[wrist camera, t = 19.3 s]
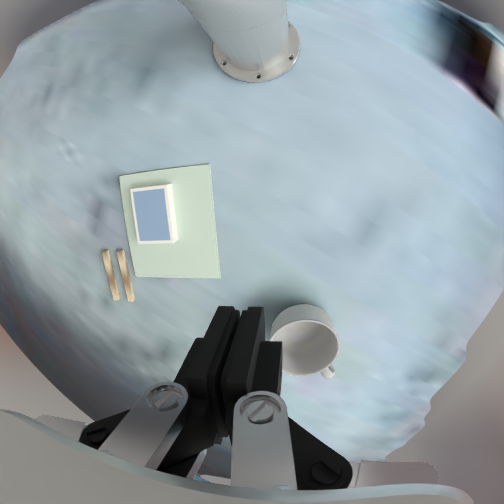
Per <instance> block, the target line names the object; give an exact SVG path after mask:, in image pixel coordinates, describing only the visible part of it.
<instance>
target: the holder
mask: <svg viewBox="0 0 504 504" xmlns="http://www.w3.org/2000/svg"><path fill="white" fill-rule="evenodd" d="M102 255H103V260H104V264H105V268H106V272H107V276H108V280H109V284H110V288H111V292H112V295H113V299H114V300H115V301H118V300H119V299H120V295H119V291H118V288H117V284H116V280H115V276H114V271H113V267H112V263H111V258H110V254H109V250H104V251H103V252H102ZM117 256H118V260H119V265H120V269H121V274H122V278H123V282H124V286H125V290H126V294H127V298H128V302H133V301H134V300H135V297H134V293H133V289H132V285H131V280H130V276H129V272H128V267H127V262H126V258H125V253H124V250H119V251H117Z"/></svg>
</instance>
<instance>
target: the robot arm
mask: <svg viewBox="0 0 504 504" xmlns="http://www.w3.org/2000/svg"><path fill="white" fill-rule="evenodd" d="M178 1H180V2H181V3H182V4H183V5H184V6H185V7H186V8H187V9H188V10H189V12H190V13H191V14H192V15H193V16H194V18H195V19H196V20H197V21H198V22H199V24H200V25H201V26H202V27H203V29H204V30H205V31H206V32H207V33H208V35H209V36H210V37H211V39H212V40H213V41H214V42H213V53H214V57H215V60H216V62H217V63H218V65H219V66H220V68H221V69H222V70H223V71H224V72H226V73H227V74H228V75H230V76H231V77H233V78H235V79H238V80H241V81H244V82H252V83H255V82H265V81H270V80H273V79H275V78H278V77H280V76H281V75H283V74H285V73H286V72H287V71H288V70H290V69H291V67H292V66H293V65H294V64H295V62H296V60H297V58H298V56H299V52H300V39H299V35H298V33H297V31H296V29H295V28H294V26H293V25H292V24H291V23H290V22H289V21H288V13H287V0H178ZM289 58H293V59H292V60H290V59H289ZM225 63H226V65H224V64H225ZM258 76H260V78H259V79H258V78H257V77H258ZM282 359H283V347H282V341H265V323H264V308H263V307H248V310H243V311H242V314H241V317H240V312H239V310H235V309H234V307H233V306H219V307H218V309H217V311H216V313H215V315H214V317H213V319H212V321H211V323H210V325H209V327H208V330H207V332H206V334H205V336H204V338H196V339H195V341H194V343H193V345H192V347H191V349H190V350H189V352H188V354H187V356H186V358H185V360H184V362H183V364H182V366H181V368H180V370H179V372H178V374H177V376H176V378H175V380H174V382H161V383H157V384H155V385H153V386H151V387H150V388H149V389H147V390H146V391H145V393H144V394H143V395H142V396H141V398H140V399H139V400H138V401H137V402H136V404H135V405H134V406H133V407H132V409H130V410H127V411H125V412H122V413H119V414H116V415H113V416H110V417H108V418H105V419H102V420H99V421H96V422H93V423H91V424H89V425H87V424H86V423H85V422H80V421H74V420H68V419H63V418H59V417H54V416H49V415H42V416H38V417H37V418H36V419H32V418H30V417H28V416H26V415H23V414H21V413H17V412H14V411H10V410H4V409H0V504H474V503H473V501H472V499H471V498H470V497H469V496H468V495H467V494H466V493H465V492H463V491H462V490H459V489H457V488H454V487H449V486H445V485H438V479H439V478H438V473H437V471H436V469H435V468H434V467H433V466H432V465H430V464H428V463H424V462H381V461H365V460H361V462H360V463H356V462H348V461H347V460H346V459H345V458H344V457H343V456H341V455H340V454H338V453H337V452H335V451H334V450H332V449H331V448H330V447H328V446H327V445H325V444H324V443H323V442H321V441H320V440H318V439H317V438H316V437H314V436H313V435H312V434H310V433H309V432H308V431H306V430H305V429H304V428H302V427H301V426H300V425H298V424H297V423H296V422H294V421H293V420H292V419H291V418H289V417H288V414H287V407H286V404H285V401H284V400H283V399H282V398H281V397H280V391H281V380H282ZM228 435H229V437H230V441H231V445H232V464H231V486H228V485H221V484H215V483H209V482H204V481H198V480H193V478H194V476H195V474H196V473H197V471H198V469H199V467H200V465H201V463H202V461H203V459H204V457H205V455H206V452H207V450H206V449H207V448H209V447H211V446H213V444H221V442H222V438H223V437H228Z"/></svg>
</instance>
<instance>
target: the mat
mask: <svg viewBox="0 0 504 504" xmlns="http://www.w3.org/2000/svg"><path fill="white" fill-rule="evenodd" d="M119 179H120V187H121V195H122V203H123V210H124V216H125V223H126V229H127V235H128V240H129V246H130V251H131V256H132V261H133V266H134V270H135V275H136V277H170V278H221V272H220V263H219V254H218V244H217V234H216V224H215V214H214V203H213V191H212V180H211V167H210V164H207V165H197V166H188V167H179V168H171V169H163V170H156V171H149V172H142V173H136V174H129V175H123V176H119ZM170 183H172V190H173V199H174V208H175V216H176V224H177V232H178V240H177V241H176V242H175V243H161V244H138V240H137V234H136V228H135V221H134V215H133V208H132V200H131V192H130V189H133V188H136V187H144V186H152V185H161V184H170Z"/></svg>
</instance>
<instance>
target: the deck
mask: <svg viewBox="0 0 504 504" xmlns="http://www.w3.org/2000/svg"><path fill="white" fill-rule="evenodd" d="M130 192H131V200H132V208H133V215H134V221H135V228H136V234H137V240H138V244H161V243H175V242H176V241H177V240H178V232H177V224H176V216H175V208H174V199H173V190H172V183H170V184H161V185H152V186H144V187H136V188H133V189H130Z"/></svg>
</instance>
